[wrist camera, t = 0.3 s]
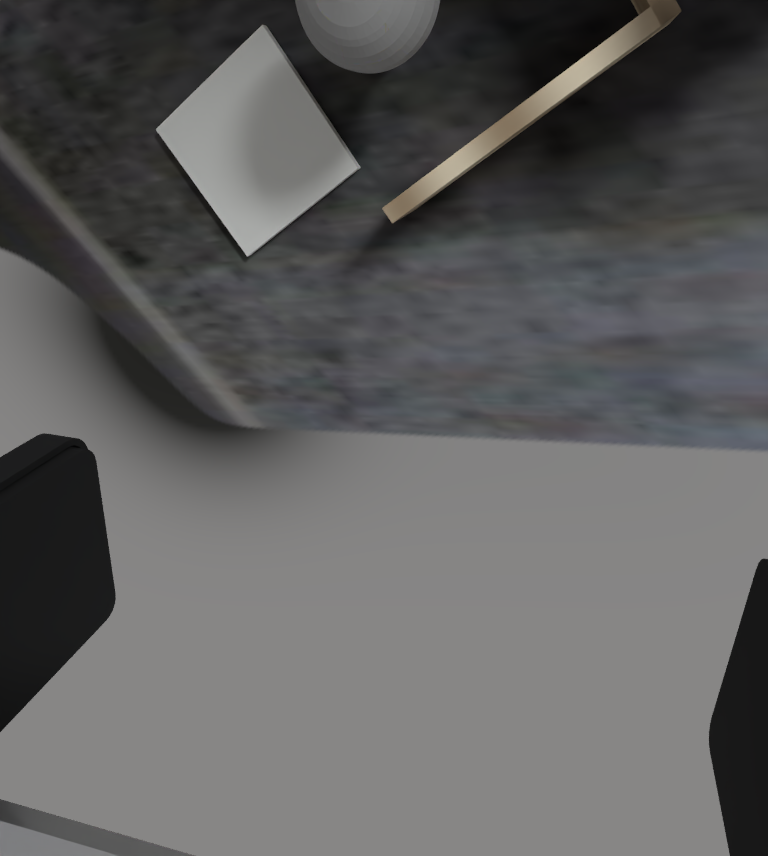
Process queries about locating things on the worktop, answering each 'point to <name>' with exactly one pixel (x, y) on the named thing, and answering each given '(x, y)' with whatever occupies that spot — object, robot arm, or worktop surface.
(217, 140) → the grey pad
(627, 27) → the u-shaped wooden frame
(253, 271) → the worktop surface
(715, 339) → the worktop surface
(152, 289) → the worktop surface
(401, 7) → the light bulb
